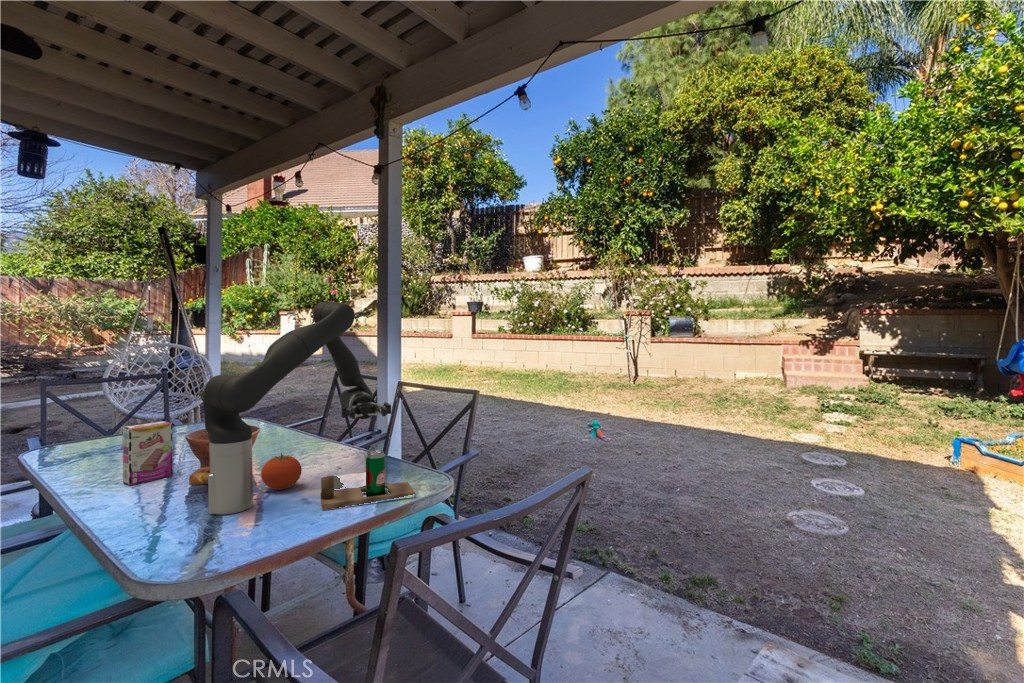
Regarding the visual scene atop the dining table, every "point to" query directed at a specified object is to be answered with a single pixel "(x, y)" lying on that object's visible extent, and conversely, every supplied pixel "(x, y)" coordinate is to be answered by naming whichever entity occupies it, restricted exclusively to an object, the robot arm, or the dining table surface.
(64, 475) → the dining table surface
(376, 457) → the soda can
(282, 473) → the tomato
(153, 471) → the candy bar box
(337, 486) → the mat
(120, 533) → the dining table surface
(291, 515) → the dining table surface
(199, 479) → the pretzel
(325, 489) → the plane body
